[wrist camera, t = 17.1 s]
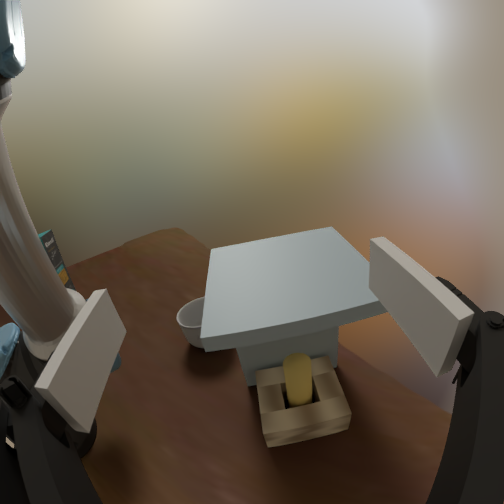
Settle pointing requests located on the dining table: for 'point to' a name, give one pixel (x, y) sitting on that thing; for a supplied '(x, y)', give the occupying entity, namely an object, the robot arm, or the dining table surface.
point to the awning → (285, 298)
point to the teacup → (192, 321)
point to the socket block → (303, 417)
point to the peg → (298, 379)
